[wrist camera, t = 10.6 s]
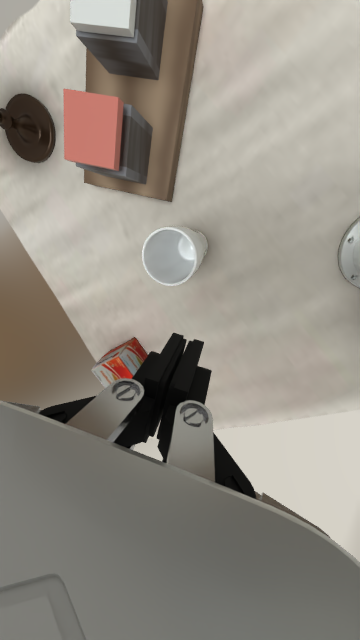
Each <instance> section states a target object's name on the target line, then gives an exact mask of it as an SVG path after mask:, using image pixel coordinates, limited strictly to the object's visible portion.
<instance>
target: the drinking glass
mask: <svg viewBox="0 0 360 640" xmlns="http://www.w3.org/2000/svg"><path fill="white" fill-rule="evenodd" d="M207 249H208V243H207V239H206V237H205V236H204V235H203V234H202V233H201V232H199V231H197V230H192V229H189V228H186V227H183V226H167V227H163V228H159V229H157V230H155V231H154V232H152V233H151V234H150V235H149V236H148V238H147V239H146V241H145V243H144V245H143V249H142V261H143V265H144V267H145V270H146V271H147V273H148V274H149V276H150V277H151V278H152V279H154V280H155V281H156V282H158V283H160V284H163V285H167V286H175V285H179V284H182V283H184V282H185V281H187V280H188V279H189V278H190V277H192V276H193V275H194V274H195V272H196V271H197V270H198V268H199V267H200V265H201V263H202V260H203V258H204V256H205V255H206V253H207Z"/></svg>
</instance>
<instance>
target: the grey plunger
mask: <svg viewBox="0 0 360 640" xmlns="http://www.w3.org/2000/svg"><path fill="white" fill-rule="evenodd" d="M136 2H137V0H70V22H71V24H72V25H73V26H74V27H75V28H76V29H77V31H82V32H91V33H99V34H108V35H116V36H125V37H134V28H135V15H136Z"/></svg>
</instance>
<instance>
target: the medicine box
mask: <svg viewBox="0 0 360 640" xmlns="http://www.w3.org/2000/svg"><path fill="white" fill-rule="evenodd" d="M147 356H148V355H147V353H146V352H145V350H144V349H143V347H142V346H141V345H140V343H139V342H138V340H137V339H136V338H135V337H134V338H132V339H131V340H130V341H128V342H126V343H124V344H122V345H120V346H118V347H117V348H115V349H113V350H110V351H109V352H108V353H107V354H105V355H104V356H103V357H102V358H101V359H100V360H99V361H98V362H97V363H96V365H95V366H94V367H93V368H92V372H93V373H94V374H95V376H96V377H97V378H98V379H99V381H100V382H101V383H102V385H103V386H104V387H105V388H106V387H108V386H109V385H110V384H111V383H112V382H114V381H115V380H118V379H123V378H128V379H132V377H133V376H134V375H135V373H136V372H137V370H138V369H139V368H140V366H141V365H142V363H143V362H144V360H145V359H146V358H147Z"/></svg>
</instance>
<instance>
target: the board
mask: <svg viewBox="0 0 360 640" xmlns="http://www.w3.org/2000/svg"><path fill="white" fill-rule="evenodd" d="M202 12H203V3H202V0H137V2H136V15H135V28H134V37H125V36H116V35H108V34H99V33H91V32H82V31H77V29H76V36H77V37H78V38H79V39H80V41H81V42H82V43H83V44H84V45H85V46H86V47H87V52H86V92H88V93H95V94H101V95H107V96H114V97H119V98H120V99H121V100H122V101H123V102H124V105H123V119H122V133H121V147H120V161H119V171H115V170H111V169H106V168H101V167H96V166H91V165H86V164H81V163H76V166H77V167H80V168H83V169H84V183H88V184H92V185H96V186H100V187H105V188H110V189H114V190H119V191H124V192H128V193H133V194H138V195H142V196H147V197H151V198H156V199H161V200H165V201H170V202H172V196H173V190H174V184H175V178H176V172H177V166H178V160H179V153H180V147H181V141H182V135H183V129H184V123H185V116H186V110H187V104H188V98H189V92H190V86H191V80H192V73H193V67H194V61H195V55H196V49H197V43H198V37H199V30H200V24H201V18H202Z"/></svg>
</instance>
